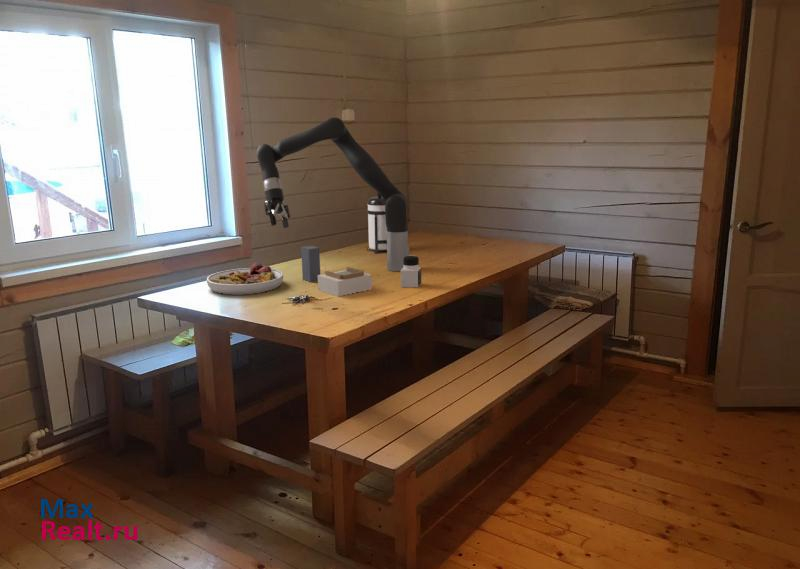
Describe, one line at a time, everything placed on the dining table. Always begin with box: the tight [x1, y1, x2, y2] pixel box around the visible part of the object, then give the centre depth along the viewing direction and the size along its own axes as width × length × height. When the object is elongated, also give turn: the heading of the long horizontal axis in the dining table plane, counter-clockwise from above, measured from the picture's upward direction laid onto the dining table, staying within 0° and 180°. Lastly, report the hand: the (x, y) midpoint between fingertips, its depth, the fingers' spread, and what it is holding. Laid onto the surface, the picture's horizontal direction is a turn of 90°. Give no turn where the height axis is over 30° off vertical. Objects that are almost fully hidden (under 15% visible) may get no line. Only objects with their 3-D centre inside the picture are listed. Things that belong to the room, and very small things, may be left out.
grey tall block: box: [300, 245, 321, 283], centre depth 279 cm, size 5×6×14 cm
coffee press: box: [366, 192, 387, 254], centre depth 337 cm, size 17×16×30 cm
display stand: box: [317, 266, 373, 298], centre depth 263 cm, size 16×14×8 cm
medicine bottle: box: [400, 254, 422, 288], centre depth 268 cm, size 7×7×12 cm
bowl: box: [206, 262, 284, 296], centre depth 270 cm, size 30×30×8 cm
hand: (280, 226), depth 285 cm, fingers open, 8 cm apart
